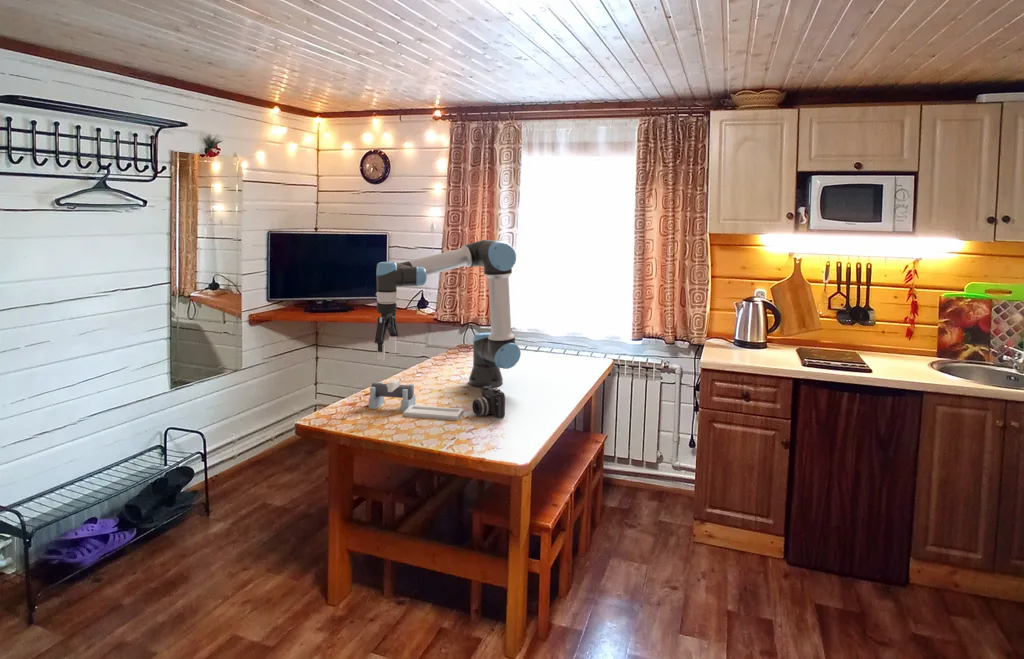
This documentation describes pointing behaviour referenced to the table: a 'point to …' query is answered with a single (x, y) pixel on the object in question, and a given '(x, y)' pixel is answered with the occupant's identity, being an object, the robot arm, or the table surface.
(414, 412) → the tray
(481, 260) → the robot arm
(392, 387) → the white l-shaped hook
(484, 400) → the camera
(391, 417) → the table surface
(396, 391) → the gray cylinder
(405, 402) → the cradle
